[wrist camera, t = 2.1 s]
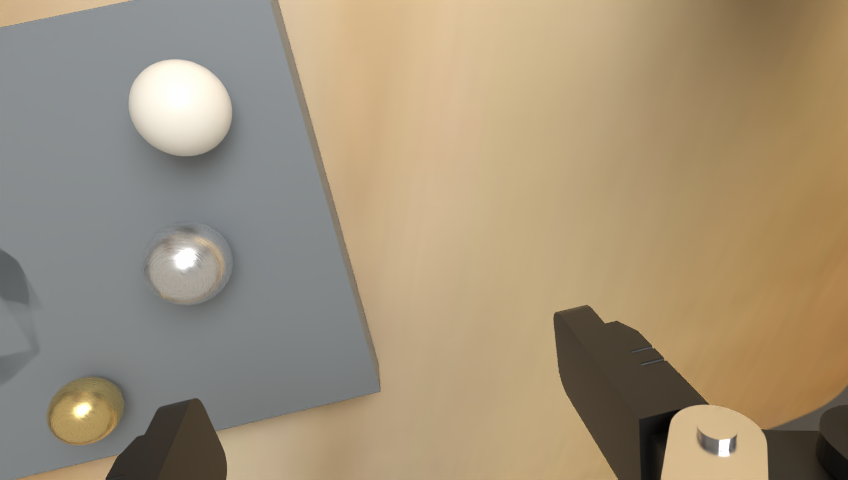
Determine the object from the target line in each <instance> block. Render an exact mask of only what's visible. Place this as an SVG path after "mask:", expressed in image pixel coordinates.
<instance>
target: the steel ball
mask: <svg viewBox="0 0 848 480" xmlns="http://www.w3.org/2000/svg"><path fill="white" fill-rule="evenodd" d="M140 267H141V273H142V277H143V279H144V281H145V283H146V285H147V286H148V288H149V289H150V290H151V291H152V292H153V293H154V294H155V295H156V296H158V297H159V298H161V299H162V300H164V301H167V302H169V303H172V304H176V305H195V304H199V303H203V302H205V301H207V300H209V299H211V298H213V297H214V296H216V295H217V294H218V293H219V292H220V291H221V290H222V289H223V288H224V287H225V285H226V284H227V282H228V280H229V278H230V275H231V272H232V267H233V258H232V253H231V249H230V247H229V245H228V243H227V241H226V240H225V238H224V237H223V236H222V235H221V234H220V233H219V232H218V231H216V230H215V229H213V228H212V227H210V226H208V225H206V224H203V223H199V222H194V221H181V222H175V223H172V224H169V225H167V226H165V227H163V228H161V229H160V230H158V231H157V232H156V233H154V234H153V235H152V236H151V238H150V239H149V240H148V241H147V243H146V245H145V246H144V249H143V251H142V255H141V261H140Z"/></svg>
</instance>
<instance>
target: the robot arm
mask: <svg viewBox="0 0 848 480" xmlns="http://www.w3.org/2000/svg"><path fill="white" fill-rule="evenodd" d="M554 330H555V339H556V349H557V358H558V368H559V373H560V377H561V381H562V384H563V387H564V389H565V392H566V394H567V396H568V397H569V399H570V401H571V402H572V404H573V406H574V407H575V409H576V411H577V412H578V414H579V416H580V417H581V419H582V421H583V422H584V424H585V425H586V427H587V429H588V430H589V432H590V434H591V435H592V437H593V439H594V440H595V442H596V444H597V445H598V447H599V448H600V450H601V452H602V453H603V455H604V457H605V458H606V460H607V462H608V463H609V465H610V467H611V468H612V470H613V472H614V473H615V475H616V476H617V478H618V480H848V405H842V406H837V407H834V408H831V409H829V410H827V411H826V412H825V413H824V414H823V415H822V417H821V419H820V423H819V430H818V431H774V430H763V429H760V428H759V427H758V426H757V425H756V424H755V423H754V422H753V421H752V420H750V419H749V418H748V417H746V416H744V415H743V414H741V413H739V412H736V411H734V410H731V409H728V408H725V407H721V406H715V405H709V404H708V403H707V402H706V401H705V400H704V399H703V397H702V396H701V395H700V394H699V393H698V392H697V391H696V390H695V389H694V388H693V387H692V386H691V385H690V384H689V383H688V382H687V381H686V380H685V379H684V378H683V377H682V376H681V375H680V374H679V373H678V372H677V371H676V370H675V369H674V368H673V367H672V366H671V365H670V364H669V363H668V362H667V361H664V358H663V356H662V355H661V354H660V353H659V352H658V351H657V350H656V349H655V348H654V349H653V348H652V345H651V344H650V343H649V342H648V341H647V340H646V339H645V338H644V337H643V336H642V335H641V334H640V333H639V332H638V331H637V330H634V329H632V328H630V327H628V326H626V325H624V324H622V323H620V322H618V321H614V322H610V323H606V324H605V323H604V322H603V321H602V320H601V318H600V317H599V316H598V315H597V314H596V313H595V312H594V311H593V309H592V308H591V307H590V306H588V305H585V306H580V307H576V308H572V309H568V310H564V311H560V312H556V313H555V314H554ZM226 477H227V463H226V457H225V453H224V450H223V447H222V445H221V443H220V441H219V438H218V436H217V434H216V432H215V430H214V427H213V425H212V423H211V421H210V418H209V416H208V414H207V412H206V409H205V407H204V405H203V403H202V402H201V401H200V400H199V399H197V398H194V399H190V400H185V401H181V402H177V403H173V404H169V405H165V406H161V407H159V408H158V409H157V411H156V413H155V415H154V417H153V419H152V421H151V423H150V425H149V427H148V429H147V431H146V432H145V434H144V435H141V436H137V437H136V438H135V439H134V440H133V441H132V442H131V443H130V444H129V445H128V447H127V448H126V449H125V450H124V451H123V452H122V453H121V454H120V455H119V456H118V457H117V459H116V461H115V462H114V464H113V466H112V468H111V470H110V472H109V473H108V475H107V477H106V480H226Z"/></svg>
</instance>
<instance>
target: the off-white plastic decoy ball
mask: <svg viewBox="0 0 848 480" xmlns="http://www.w3.org/2000/svg"><path fill="white" fill-rule="evenodd" d="M128 104H129V112H130V116H131V119H132V122H133V124H134V126H135V128H136V129H137V131H138V132H139V134H140V135H141V136H142V137H143V138H144V139H145V140H146V141H147V142H148V143H149V144H151V145H152V146H154V147H155V148H157V149H159V150H161V151H163V152H166V153H168V154H172V155H176V156H195V155H199V154H203V153H205V152H207V151H210V150H211V149H213V148H214V147H216V146H217V145H218V144H219V143H220V142H221V141H222V140H223V139H224V137H225V136H226V134H227V133H228V130H229V128H230V125H231V121H232V104H231V100H230V97H229V94H228V92H227V90H226V88H225V87H224V85H223V84H222V82H221V81H220V80H219V79H218V78H217V77H216V76H215V75H214V74H213V73H212V72H211V71H209V70H208V69H206V68H205V67H203V66H201V65H199V64H196V63H194V62H191V61H187V60H180V59H170V60H163V61H160V62H157V63H155V64H152V65H150V66H149V67H147V68H146V69H144V70H143V71H142V72H141V73H140V74H139V75H138V77H137V78H136V79H135V81H134V83H133V84H132V87H131V90H130V94H129V102H128Z"/></svg>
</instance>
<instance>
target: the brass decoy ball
mask: <svg viewBox="0 0 848 480" xmlns="http://www.w3.org/2000/svg"><path fill="white" fill-rule="evenodd" d="M123 411H124V399H123V395H122V393H121V391H120V390H119V388H118V387H117V386H116V385H115V384H114V383H112V382H111V381H109V380H107V379H104V378H100V377H83V378H79V379H76V380H73V381H71V382H69V383H67V384H66V385H64V386H63V387H62V388H61V389H59V390H58V391H57V393H56V394H55V395H54V396H53V398H52V399H51V401H50V403H49V405H48V409H47V414H46V420H47V425H48V428H49V430H50V431H51V433H52V434H53V435H54V436H55V437H56V438H57V439H59V440H60V441H62V442H64V443H67V444H71V445H86V444H91V443H94V442H97V441H99V440H101V439H103V438H104V437H106V436H107V435H108V434H110V433H111V432H112V431H113V430H114V429H115V428H116V426H117V425H118V423H119V422H120V420H121V418H122V415H123Z"/></svg>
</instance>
